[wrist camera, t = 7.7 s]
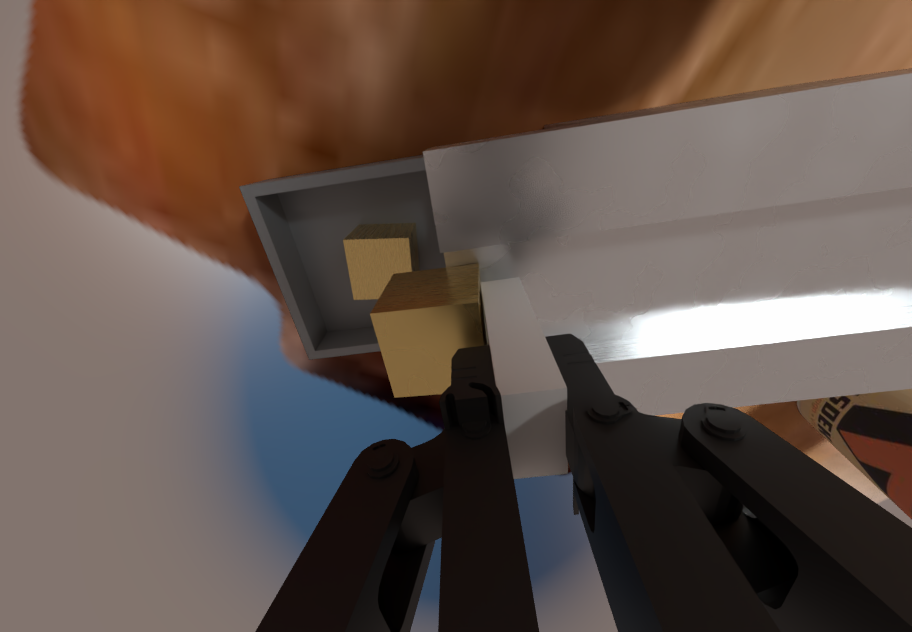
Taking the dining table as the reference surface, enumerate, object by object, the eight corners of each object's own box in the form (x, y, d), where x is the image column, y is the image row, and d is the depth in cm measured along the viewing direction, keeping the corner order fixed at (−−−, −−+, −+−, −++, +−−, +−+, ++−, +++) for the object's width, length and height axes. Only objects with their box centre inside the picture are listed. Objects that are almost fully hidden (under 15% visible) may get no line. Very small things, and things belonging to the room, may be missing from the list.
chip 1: (415, 222, 22) (359, 224, 22) (408, 237, 19) (342, 239, 19) (419, 276, 23) (367, 277, 23) (414, 298, 20) (353, 299, 20)
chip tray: (266, 179, 21) (239, 186, 18) (465, 147, 20) (467, 150, 18) (324, 336, 26) (309, 359, 23) (485, 316, 25) (489, 337, 23)
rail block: (438, 142, 20) (422, 151, 11) (809, 82, 19) (1154, 34, 10) (465, 324, 26) (471, 434, 16) (754, 288, 24) (939, 385, 15)
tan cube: (393, 273, 14) (369, 313, 11) (478, 263, 14) (478, 302, 11) (411, 345, 16) (394, 397, 13) (487, 338, 16) (489, 390, 13)
